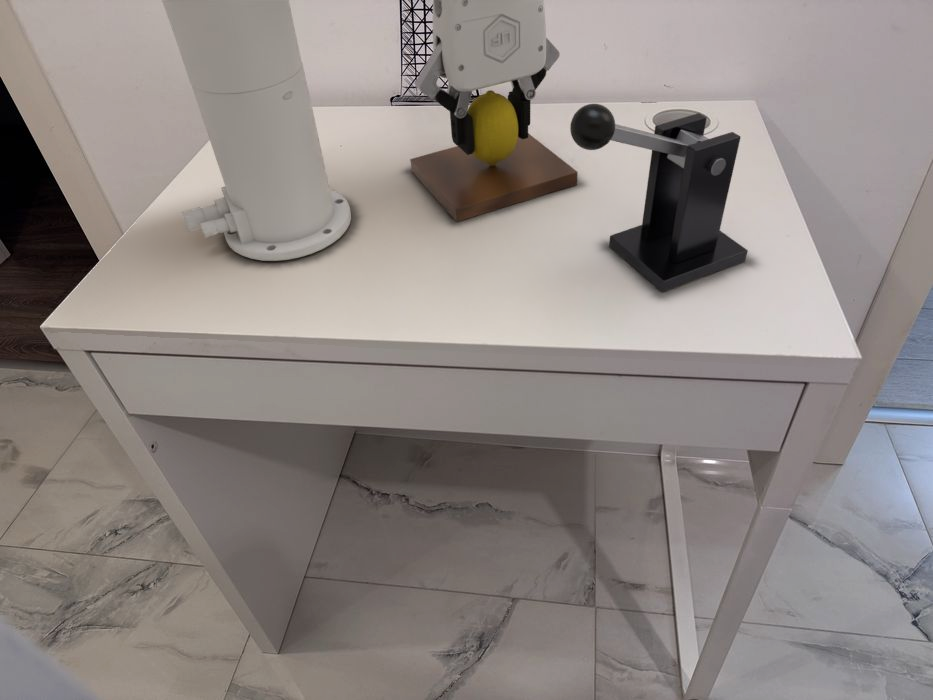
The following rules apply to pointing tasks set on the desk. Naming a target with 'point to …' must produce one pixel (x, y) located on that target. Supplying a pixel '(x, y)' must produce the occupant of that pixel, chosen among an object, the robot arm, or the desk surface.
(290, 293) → the desk surface
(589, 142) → the lever
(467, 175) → the board
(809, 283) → the desk surface
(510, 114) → the lemon
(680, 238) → the lever stand
